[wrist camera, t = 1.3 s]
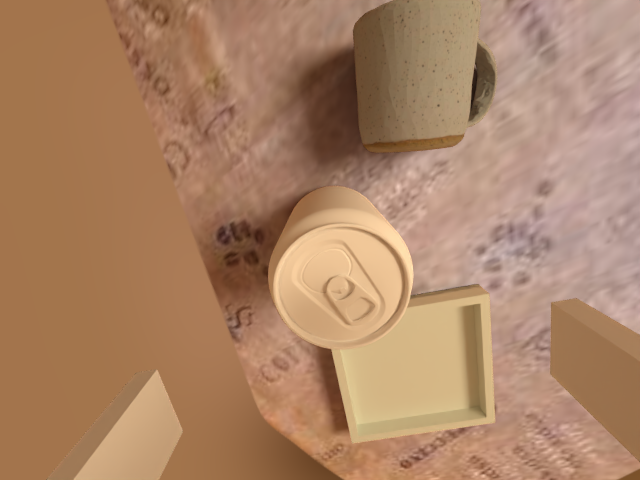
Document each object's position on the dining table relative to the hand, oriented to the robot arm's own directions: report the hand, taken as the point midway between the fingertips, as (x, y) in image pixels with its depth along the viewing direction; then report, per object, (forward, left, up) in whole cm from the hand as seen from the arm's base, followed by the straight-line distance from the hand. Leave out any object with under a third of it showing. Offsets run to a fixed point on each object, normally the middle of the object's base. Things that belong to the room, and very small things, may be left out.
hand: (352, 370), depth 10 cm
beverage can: (0, 0, -18) cm, 18 cm away
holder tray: (+15, +5, -18) cm, 24 cm away
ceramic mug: (-10, +8, -18) cm, 22 cm away
